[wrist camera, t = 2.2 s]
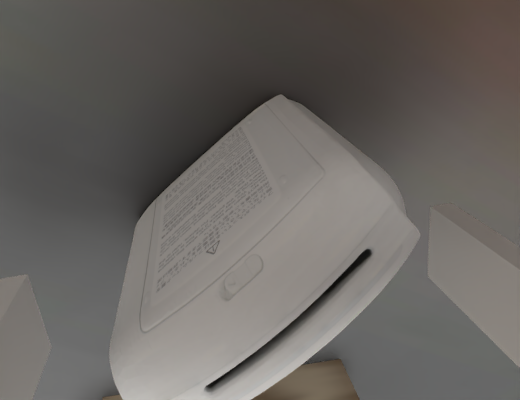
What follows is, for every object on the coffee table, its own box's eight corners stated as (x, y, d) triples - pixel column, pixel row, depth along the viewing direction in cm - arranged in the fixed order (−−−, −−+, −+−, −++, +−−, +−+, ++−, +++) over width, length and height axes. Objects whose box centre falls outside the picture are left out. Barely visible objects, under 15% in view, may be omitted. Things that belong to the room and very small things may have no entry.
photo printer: (184, 274, 24) (189, 499, 13) (122, 221, 23) (67, 425, 11) (335, 143, 23) (486, 266, 12) (280, 77, 21) (395, 145, 10)
